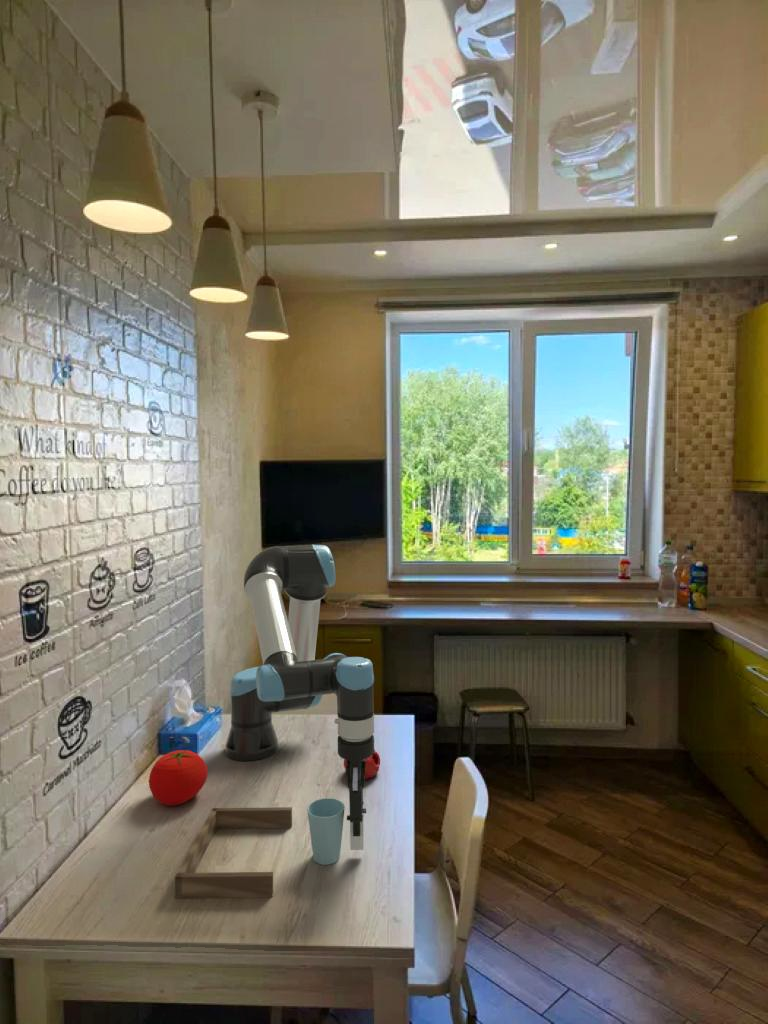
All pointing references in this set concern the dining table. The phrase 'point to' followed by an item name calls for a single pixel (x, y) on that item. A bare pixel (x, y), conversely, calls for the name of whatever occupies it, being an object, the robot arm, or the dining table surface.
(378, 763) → the pomegranate
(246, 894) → the corral
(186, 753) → the tomato
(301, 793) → the dining table surface
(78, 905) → the dining table surface
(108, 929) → the dining table surface
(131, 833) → the dining table surface
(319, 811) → the cup
